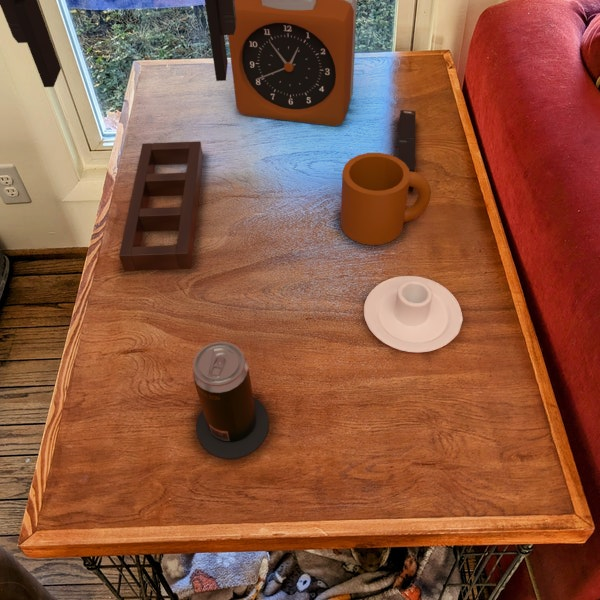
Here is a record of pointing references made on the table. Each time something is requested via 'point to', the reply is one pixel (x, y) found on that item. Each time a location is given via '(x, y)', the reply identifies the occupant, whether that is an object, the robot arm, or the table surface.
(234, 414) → the beer can
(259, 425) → the coaster
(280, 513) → the table surface
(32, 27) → the robot arm
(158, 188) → the can rack
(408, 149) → the black long bar
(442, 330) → the candle holder
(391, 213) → the mug
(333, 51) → the alarm clock
